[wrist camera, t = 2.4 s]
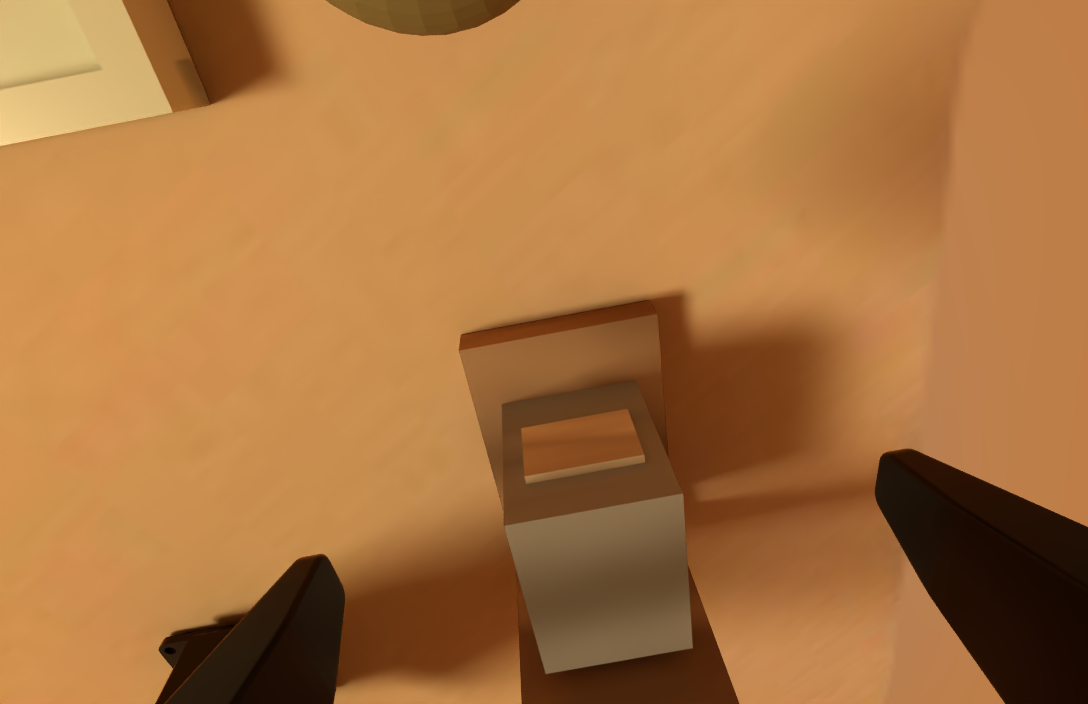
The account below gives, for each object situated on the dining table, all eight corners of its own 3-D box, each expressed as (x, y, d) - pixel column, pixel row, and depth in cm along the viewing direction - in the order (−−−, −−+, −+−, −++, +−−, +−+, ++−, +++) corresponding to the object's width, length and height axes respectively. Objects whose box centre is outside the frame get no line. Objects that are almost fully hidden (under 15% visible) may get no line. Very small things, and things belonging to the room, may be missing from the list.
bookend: (668, 532, 26) (750, 761, 18) (521, 558, 26) (533, 798, 18) (649, 300, 20) (756, 477, 12) (460, 335, 21) (436, 534, 12)
